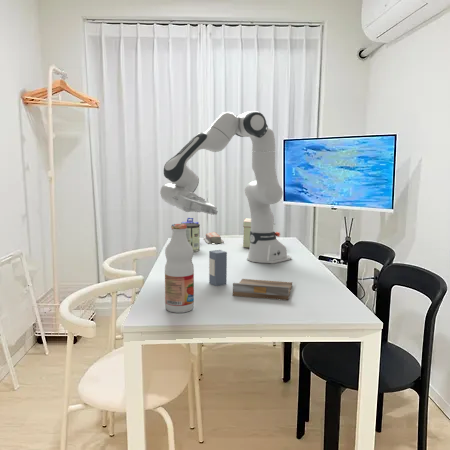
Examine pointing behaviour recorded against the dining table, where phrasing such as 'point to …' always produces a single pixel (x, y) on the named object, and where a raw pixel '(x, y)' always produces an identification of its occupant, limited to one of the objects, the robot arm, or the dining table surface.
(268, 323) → the dining table surface
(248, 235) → the gift box
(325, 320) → the dining table surface
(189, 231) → the coffee can
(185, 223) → the ink cartridge box
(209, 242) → the packaged product
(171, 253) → the fruit juice
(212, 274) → the carton
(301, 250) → the dining table surface
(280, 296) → the shelf board
